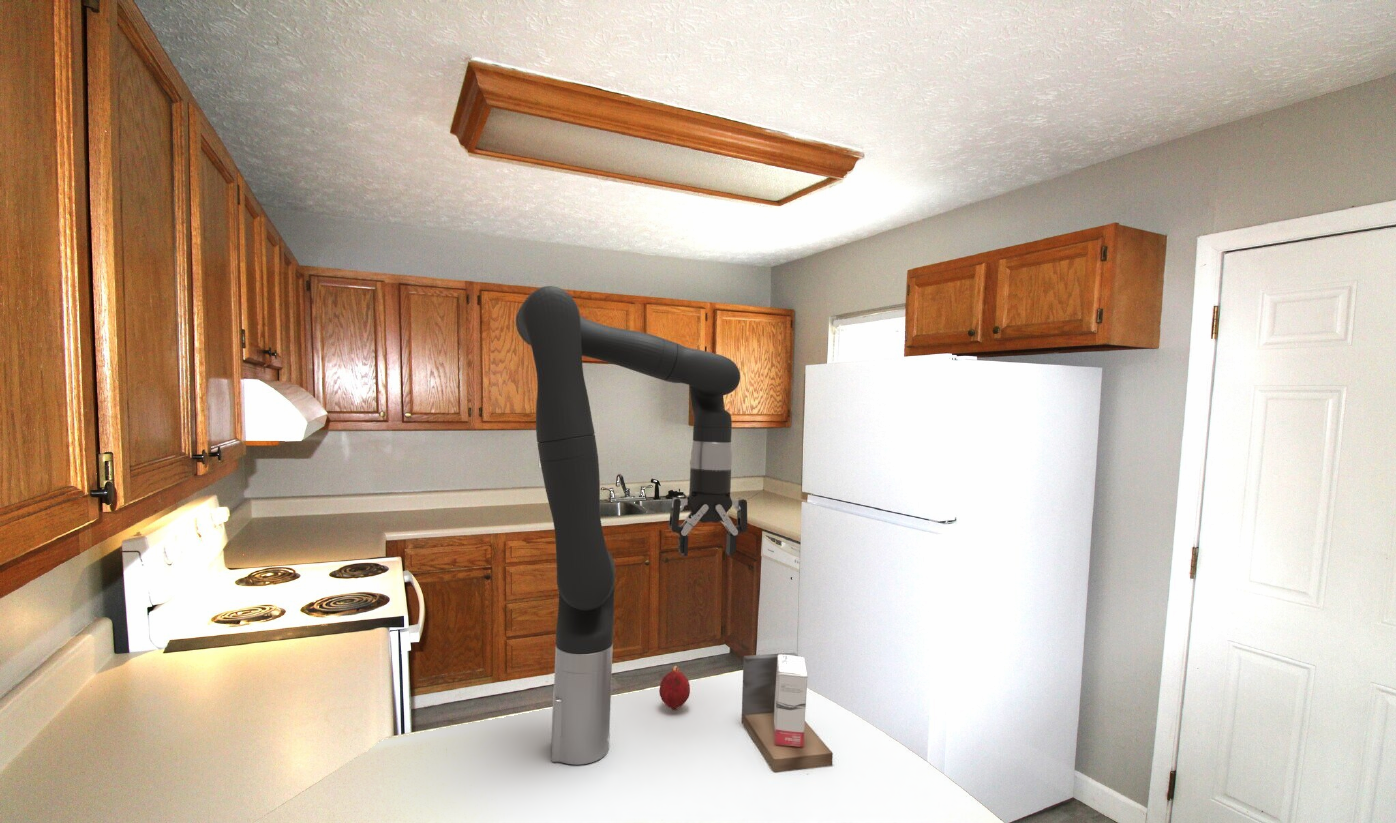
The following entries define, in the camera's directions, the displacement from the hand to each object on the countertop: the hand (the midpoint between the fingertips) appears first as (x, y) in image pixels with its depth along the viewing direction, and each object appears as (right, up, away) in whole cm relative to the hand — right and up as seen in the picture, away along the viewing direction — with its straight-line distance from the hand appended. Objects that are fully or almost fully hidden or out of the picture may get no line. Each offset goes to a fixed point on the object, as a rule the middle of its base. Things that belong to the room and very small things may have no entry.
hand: (707, 555), depth 111 cm
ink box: (+14, -29, -8) cm, 33 cm away
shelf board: (+13, -30, -7) cm, 34 cm away
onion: (-6, -30, +3) cm, 31 cm away
